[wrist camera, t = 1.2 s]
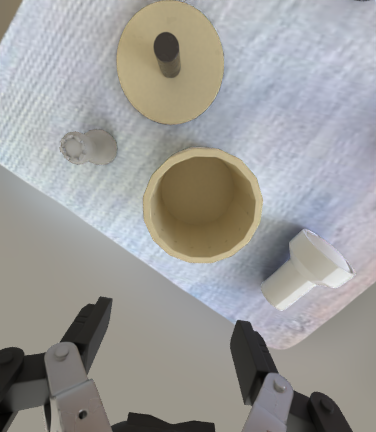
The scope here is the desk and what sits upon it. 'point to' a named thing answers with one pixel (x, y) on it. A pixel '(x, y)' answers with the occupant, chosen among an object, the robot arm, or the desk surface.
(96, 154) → the rook chess piece
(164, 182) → the tin
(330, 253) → the spotlight
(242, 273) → the desk surface
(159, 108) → the cream disc with rod
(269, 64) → the desk surface
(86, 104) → the desk surface
